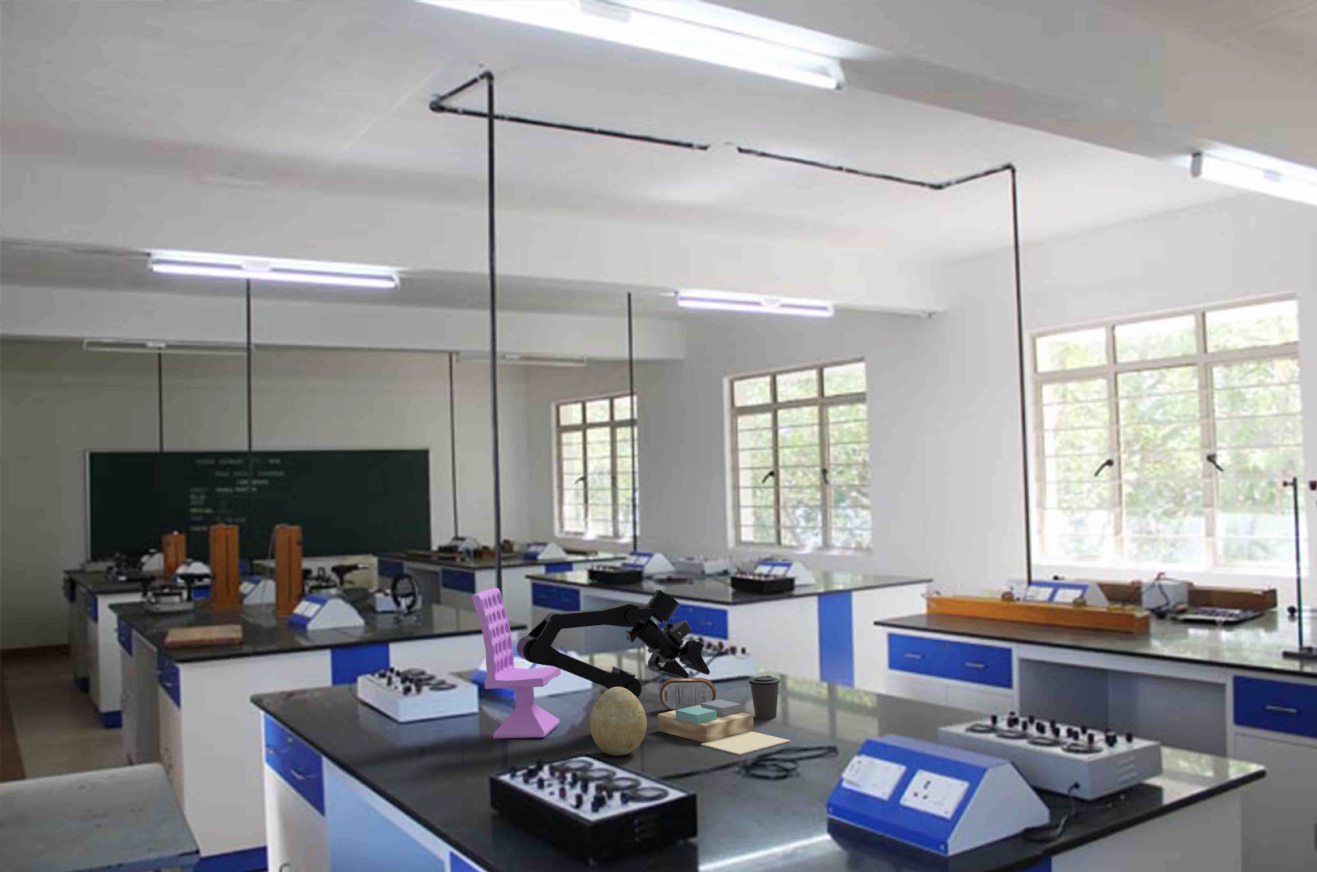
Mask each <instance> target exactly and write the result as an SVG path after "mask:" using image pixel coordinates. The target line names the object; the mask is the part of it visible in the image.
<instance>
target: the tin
mask: <svg viewBox="0 0 1317 872" xmlns="http://www.w3.org/2000/svg"><path fill="white" fill-rule="evenodd" d="M716 698H717V689H716V686H715V684H713V682H712V681H710V680H709V679H707V678H705V677H688V678H683V677H671V678H668V679H666V680H665V681H664V682H663V683H662V684H661V686H660V689H659V700H660V702H661V703H662V705H663V706H664V707H665V708H666V709H668V710H669V711H674V710H678V709H683V708H687V707H692V706H697V705H701V703H705V702H710V701H714V700H716Z"/></svg>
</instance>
